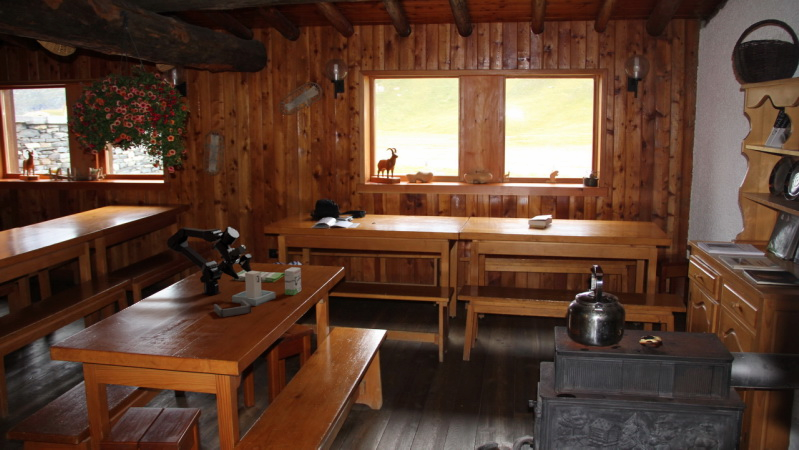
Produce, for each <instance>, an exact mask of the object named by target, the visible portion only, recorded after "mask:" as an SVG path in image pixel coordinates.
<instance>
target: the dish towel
mask: <svg viewBox="0 0 799 450" xmlns="http://www.w3.org/2000/svg"><path fill="white" fill-rule="evenodd" d="M260 272H261V283H274V282H277V281H278V280H280V279H281V278H283V277H285V272H266V271H260ZM236 273H237V275H238V277H239V279H236V278H234V277H232V280H233V281H239V282H245V273H247V272H246V271H245V270H244V269H242V270H240V271H239V272H236Z"/></svg>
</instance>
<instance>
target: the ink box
mask: <svg viewBox="0 0 799 450" xmlns="http://www.w3.org/2000/svg"><path fill="white" fill-rule="evenodd" d="M284 273H285V275H284V292H285V293H284V295H288V296H289V295H290V296H295V295H297V294H298V293H300V292H301V291H302V269H301V267H295V266H294V267H293V266H291V267H290V268H286V269H285V270H284Z"/></svg>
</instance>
